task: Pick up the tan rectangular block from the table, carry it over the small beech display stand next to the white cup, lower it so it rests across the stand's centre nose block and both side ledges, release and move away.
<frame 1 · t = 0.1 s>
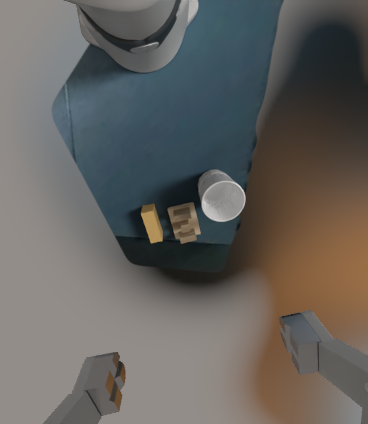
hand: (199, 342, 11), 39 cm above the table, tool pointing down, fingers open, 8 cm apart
tan rectangular block: (153, 219, 51), on the table
display stand: (184, 220, 52), on the table
white cup: (212, 183, 49), on the table
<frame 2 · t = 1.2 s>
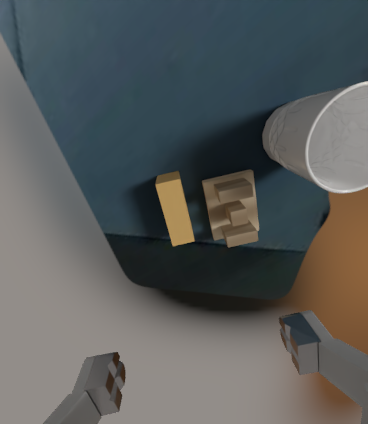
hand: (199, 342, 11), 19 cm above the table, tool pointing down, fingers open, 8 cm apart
tan rectangular block: (175, 202, 28), on the table
display stand: (230, 204, 29), on the table
white cup: (289, 133, 26), on the table
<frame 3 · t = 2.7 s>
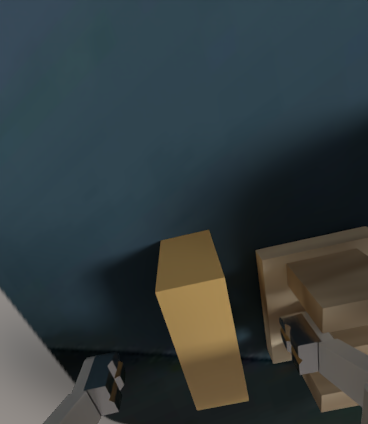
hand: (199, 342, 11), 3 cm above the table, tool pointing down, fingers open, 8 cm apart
tan rectangular block: (198, 289, 13), on the table
display stand: (310, 294, 14), on the table
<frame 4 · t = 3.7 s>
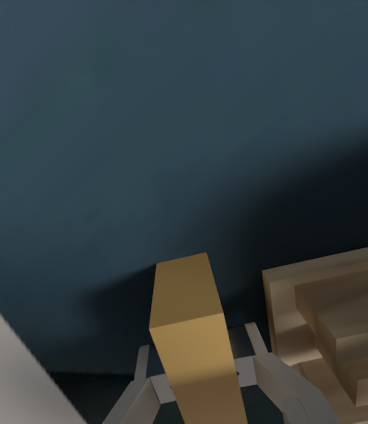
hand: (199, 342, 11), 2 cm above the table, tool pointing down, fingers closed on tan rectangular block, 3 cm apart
tan rectangular block: (196, 313, 13), on the table, touching gripper
display stand: (319, 315, 13), on the table
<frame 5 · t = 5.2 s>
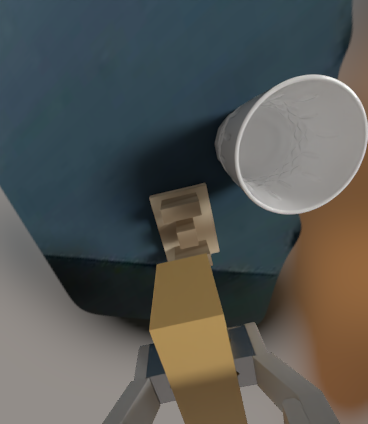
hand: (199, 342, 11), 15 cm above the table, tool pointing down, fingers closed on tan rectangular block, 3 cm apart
tan rectangular block: (197, 314, 13), point 13 cm above the table, touching gripper
display stand: (185, 222, 25), on the table
white cup: (247, 142, 23), on the table
when the fingers open (7 cm above the table, at t = 6.9 s): tan rectangular block stays where it is, resting on display stand.
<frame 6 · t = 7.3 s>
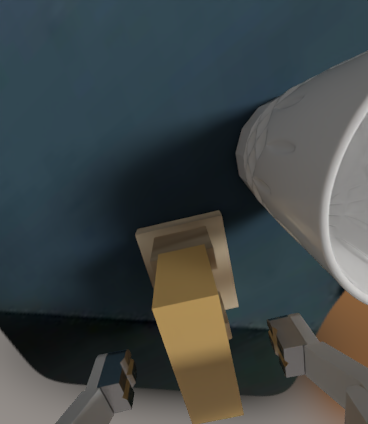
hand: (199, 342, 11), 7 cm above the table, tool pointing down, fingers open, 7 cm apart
tan rectangular block: (195, 302, 14), point 4 cm above the table, touching display stand
display stand: (189, 265, 17), on the table
white cup: (284, 150, 15), on the table
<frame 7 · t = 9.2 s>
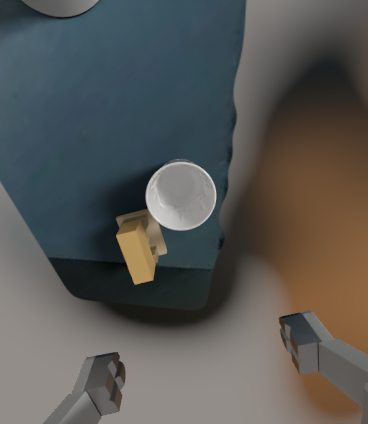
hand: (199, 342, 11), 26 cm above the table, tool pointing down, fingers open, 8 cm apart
tan rectangular block: (139, 244, 33), point 4 cm above the table, touching display stand
display stand: (143, 233, 37), on the table
white cup: (179, 180, 35), on the table
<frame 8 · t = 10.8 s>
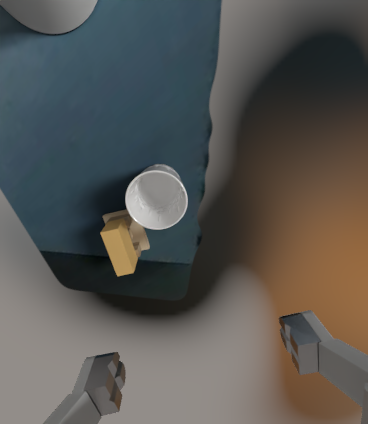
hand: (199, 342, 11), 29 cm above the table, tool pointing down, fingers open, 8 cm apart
tan rectangular block: (123, 240, 37), point 4 cm above the table, touching display stand
display stand: (127, 230, 40), on the table
white cup: (160, 183, 38), on the table
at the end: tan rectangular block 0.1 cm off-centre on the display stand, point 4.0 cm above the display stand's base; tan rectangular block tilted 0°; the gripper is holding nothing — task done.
